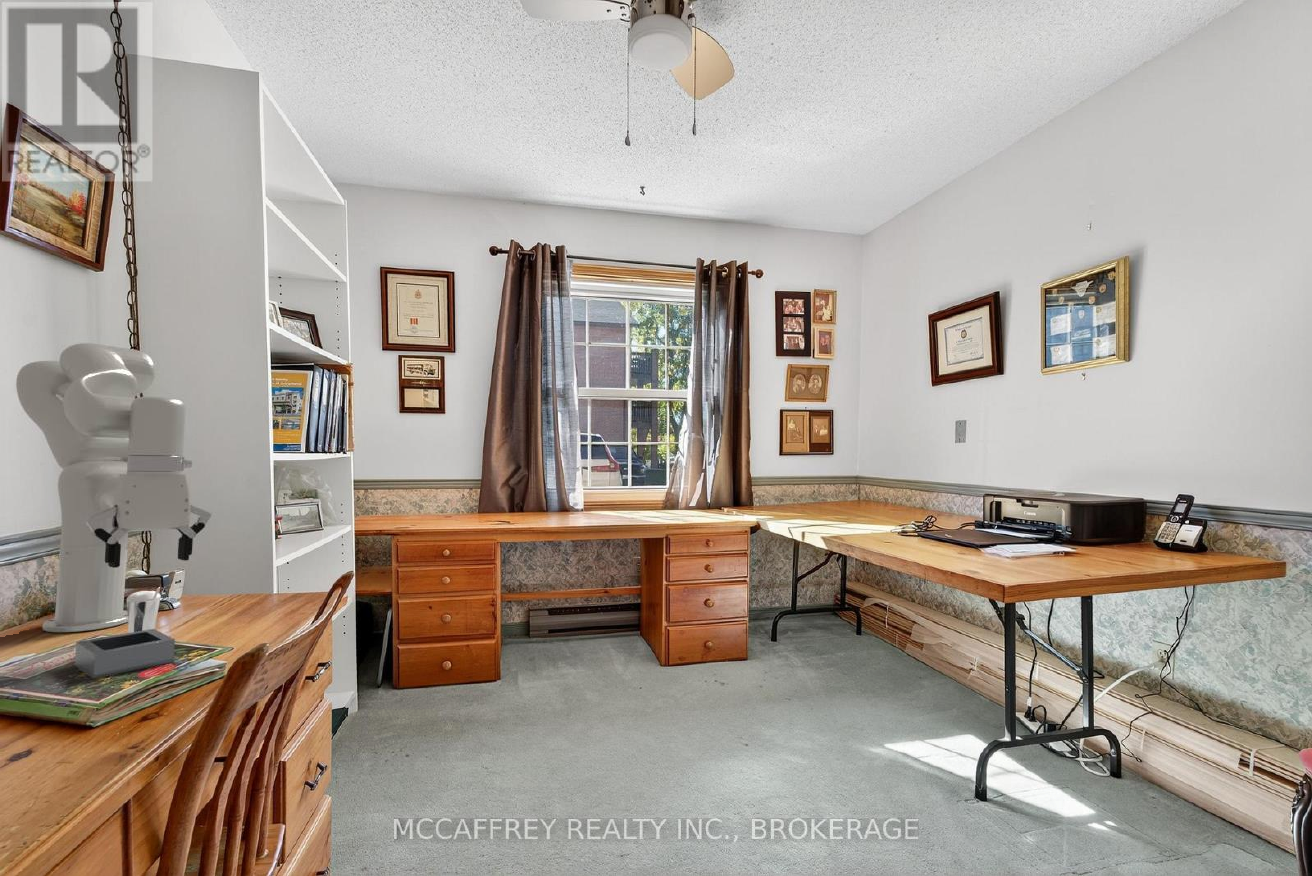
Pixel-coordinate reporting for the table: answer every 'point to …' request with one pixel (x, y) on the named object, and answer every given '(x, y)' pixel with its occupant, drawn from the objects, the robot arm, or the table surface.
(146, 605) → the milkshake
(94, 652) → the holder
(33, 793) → the table surface
